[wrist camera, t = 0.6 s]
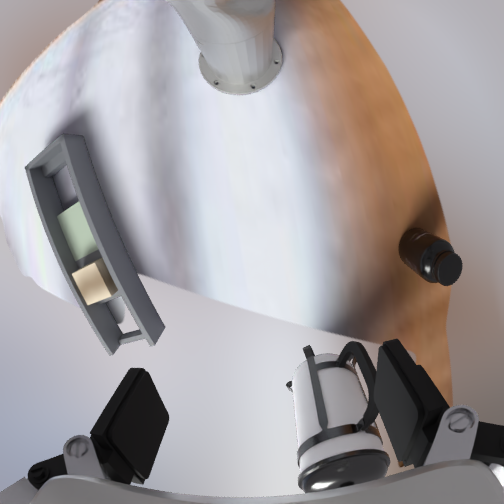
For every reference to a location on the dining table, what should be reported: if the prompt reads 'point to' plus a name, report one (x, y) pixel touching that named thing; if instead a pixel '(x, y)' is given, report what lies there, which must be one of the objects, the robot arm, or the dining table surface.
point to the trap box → (89, 240)
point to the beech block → (95, 282)
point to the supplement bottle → (430, 257)
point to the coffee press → (336, 421)
